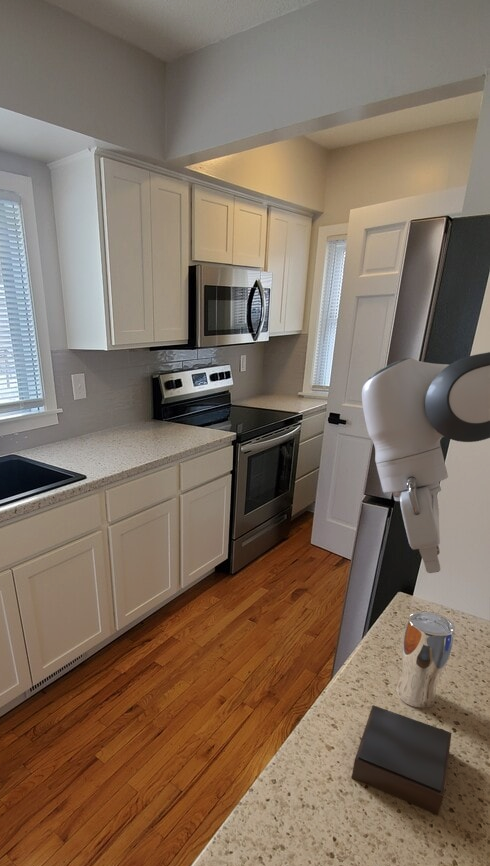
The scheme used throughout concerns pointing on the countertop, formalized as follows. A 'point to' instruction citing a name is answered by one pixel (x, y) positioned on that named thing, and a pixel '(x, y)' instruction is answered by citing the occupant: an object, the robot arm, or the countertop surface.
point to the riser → (403, 758)
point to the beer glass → (424, 657)
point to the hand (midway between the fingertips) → (433, 562)
